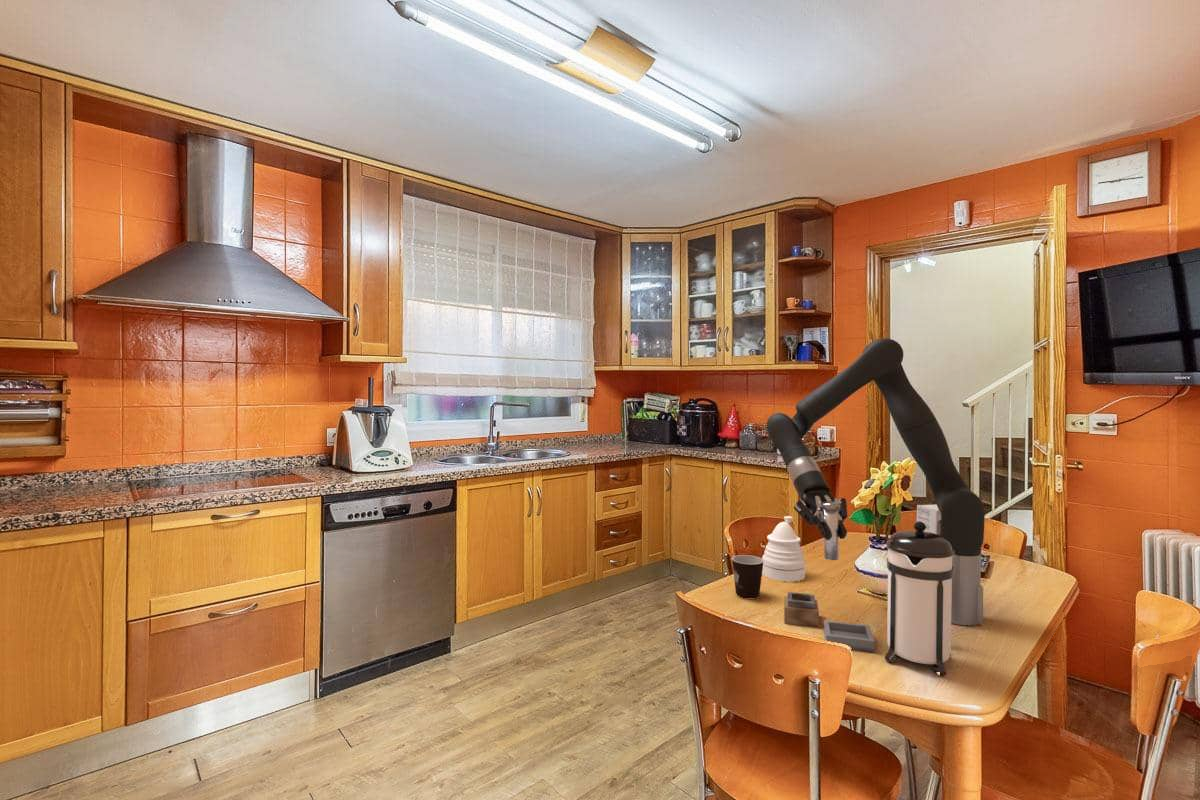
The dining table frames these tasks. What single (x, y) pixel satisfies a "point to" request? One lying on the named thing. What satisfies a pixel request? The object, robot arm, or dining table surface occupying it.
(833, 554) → the pin
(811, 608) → the block
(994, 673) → the dining table surface
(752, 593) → the coffee mug
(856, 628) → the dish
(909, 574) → the coffee press
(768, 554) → the honey pot
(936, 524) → the supplement box
